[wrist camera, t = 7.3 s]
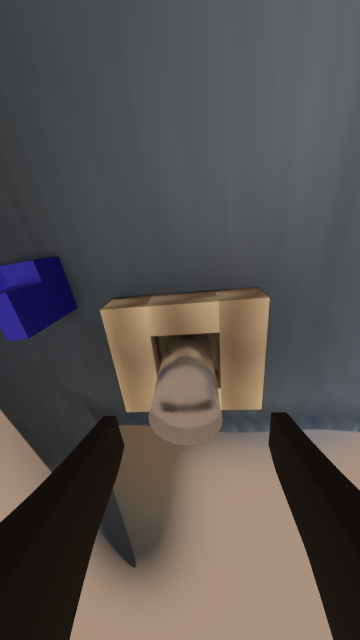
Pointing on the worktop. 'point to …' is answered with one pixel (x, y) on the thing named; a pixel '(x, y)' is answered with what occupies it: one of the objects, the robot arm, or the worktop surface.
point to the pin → (186, 392)
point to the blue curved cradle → (33, 297)
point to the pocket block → (190, 318)
